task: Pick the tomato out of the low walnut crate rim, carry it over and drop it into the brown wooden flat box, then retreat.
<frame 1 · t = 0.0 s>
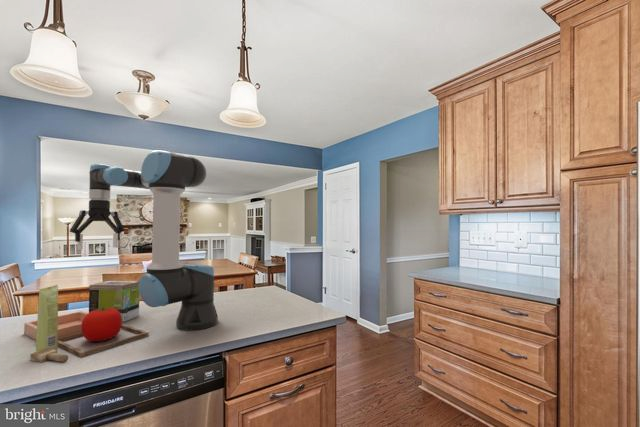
hand: (98, 248, 133), 28 cm above the worktop, fingers open, 13 cm apart
crate rim: (101, 339, 103), on the worktop
tomato: (101, 340, 103), resting in crate rim
tube: (47, 351, 94), on the worktop
brown wooden flat box: (64, 331, 110), on the worktop
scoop: (50, 359, 88), on the worktop
tea box: (114, 319, 125), on the worktop
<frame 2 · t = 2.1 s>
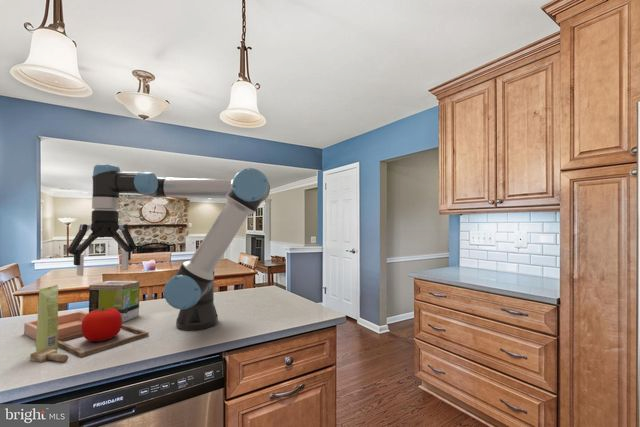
hand: (103, 272, 104), 22 cm above the worktop, fingers open, 13 cm apart
nothing on the worktop moved.
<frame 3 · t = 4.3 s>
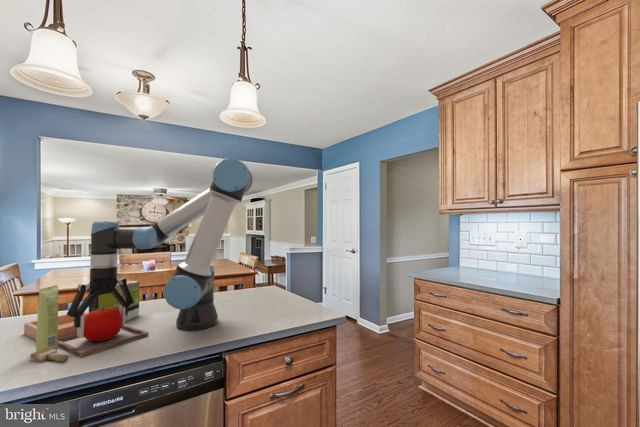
hand: (102, 331, 103), 3 cm above the worktop, fingers closed on tomato, 12 cm apart
tomato: (102, 340, 103), resting in crate rim, touching gripper
everything else where it was.
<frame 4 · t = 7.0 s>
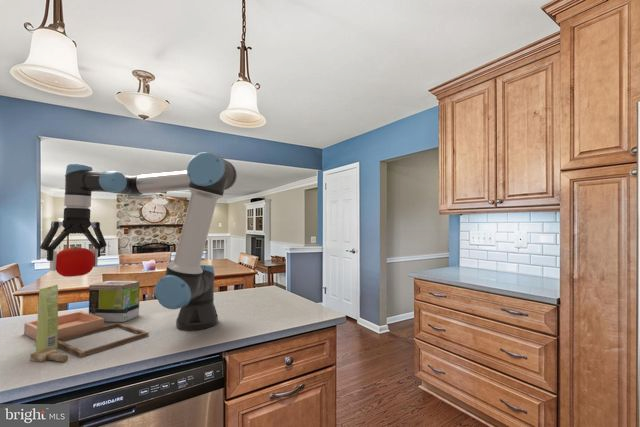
hand: (74, 268, 109), 23 cm above the worktop, fingers closed on tomato, 12 cm apart
tomato: (74, 276, 109), point 20 cm above the worktop, touching gripper
everything else where it was.
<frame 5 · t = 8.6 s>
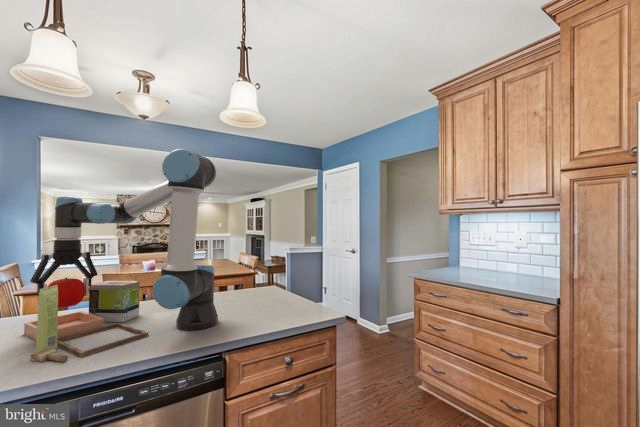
hand: (65, 299, 111), 12 cm above the worktop, fingers closed on tomato, 12 cm apart
tomato: (65, 307, 111), point 9 cm above the worktop, touching gripper
everything else where it was.
when the fingers open (6 cm above the worktop, at t = 10.0 s): tomato drops 2 cm, resting on brown wooden flat box.
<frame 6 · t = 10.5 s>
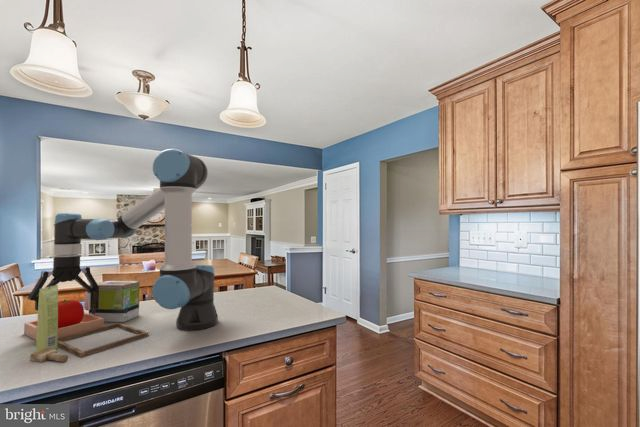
hand: (65, 314, 110), 6 cm above the worktop, fingers open, 13 cm apart
tomato: (63, 329, 110), point 1 cm above the worktop, touching brown wooden flat box
everything else where it was.
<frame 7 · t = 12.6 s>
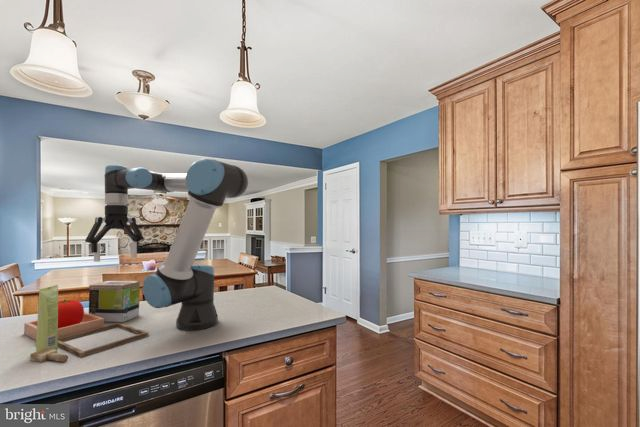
hand: (116, 259, 119), 25 cm above the worktop, fingers open, 13 cm apart
nothing on the worktop moved.
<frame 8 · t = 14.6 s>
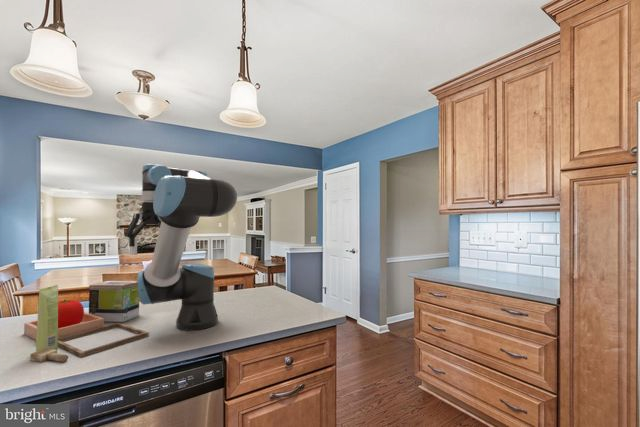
hand: (151, 253, 126), 27 cm above the worktop, fingers open, 13 cm apart
nothing on the worktop moved.
at the end: tomato inside the target area on the brown wooden flat box (0.3 cm from its centre), point 0.6 cm above the brown wooden flat box's base; the gripper is holding nothing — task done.
